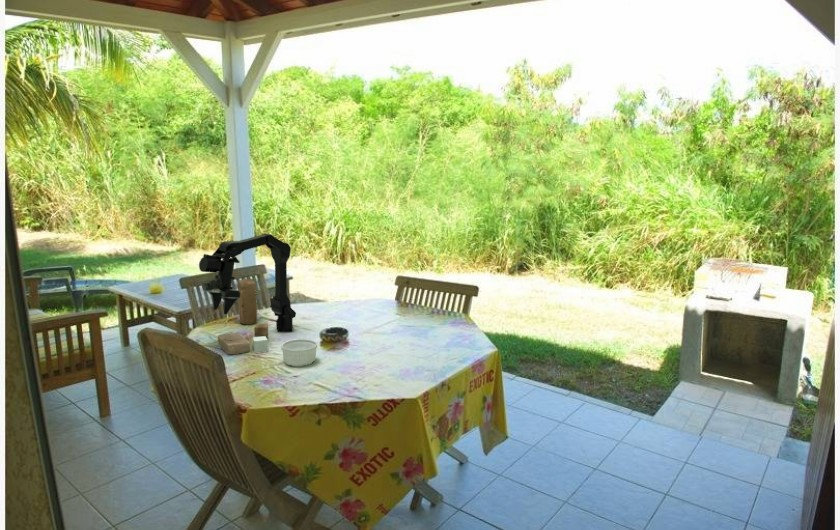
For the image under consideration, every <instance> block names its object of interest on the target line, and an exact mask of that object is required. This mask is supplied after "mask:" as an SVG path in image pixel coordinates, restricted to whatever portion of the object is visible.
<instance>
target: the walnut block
mask: <svg viewBox="0 0 840 530" xmlns="http://www.w3.org/2000/svg"><path fill="white" fill-rule="evenodd" d="M253 329H254V331H253V332H254V337H261V336H266V338H267V341H268V339H269V324H268V323H255V325H254V328H253Z"/></svg>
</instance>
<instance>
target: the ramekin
mask: <svg viewBox="0 0 840 530" xmlns="http://www.w3.org/2000/svg"><path fill="white" fill-rule="evenodd" d="M317 348H318V343H317V342H316V341H315V340H313V339H309V338H308V339H307V338H295V339H289V340H287V341H285V342H283V343H282V344H281V348H280V349H281V352H282V357H283V358H282V359H283V361H284V363H285V364H286V365H288V366H290V365H292V366H291V367H303V366H302V365H306V366H308V365H307V364H309V365H311V364H313V363H314V362H315V361H316V357H317ZM313 361H314V362H313ZM312 362H313V363H312ZM310 363H311V364H310Z"/></svg>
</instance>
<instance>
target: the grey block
mask: <svg viewBox="0 0 840 530" xmlns="http://www.w3.org/2000/svg"><path fill="white" fill-rule="evenodd" d="M268 345H269V344H268V340H267V338H266V336H261V337H255V336H253V337H252V350H253V352H254V354H258V353H257V352H261V353H266V352H265V351H269V347H268Z"/></svg>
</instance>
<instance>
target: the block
mask: <svg viewBox="0 0 840 530" xmlns="http://www.w3.org/2000/svg"><path fill="white" fill-rule="evenodd" d="M237 290H238V291H239V292H240V298H238V300H237V301H238V315H239V322H240V323H241V324H242V325H253V324H256V323H257V322H258V321H257V319H258V309H257V308H258V306H257V292H256V290H257V289H256V281H255V280H254V279H253V278H244V279H240V280H239V281H238V285H237Z"/></svg>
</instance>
